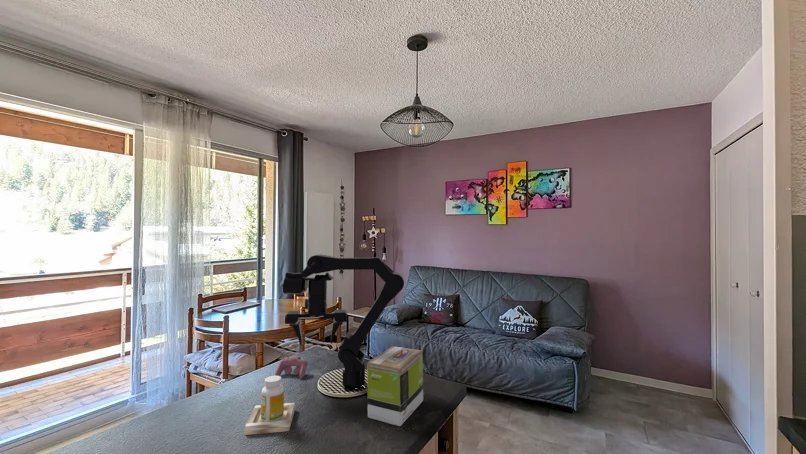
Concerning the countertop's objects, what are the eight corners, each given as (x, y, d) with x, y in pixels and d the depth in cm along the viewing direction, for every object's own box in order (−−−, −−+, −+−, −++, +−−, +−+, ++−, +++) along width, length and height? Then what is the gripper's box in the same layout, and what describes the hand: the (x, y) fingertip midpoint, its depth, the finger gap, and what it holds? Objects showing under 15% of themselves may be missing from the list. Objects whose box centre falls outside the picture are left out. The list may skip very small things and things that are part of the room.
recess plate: (294, 410, 91) (294, 402, 91) (289, 431, 81) (289, 422, 81) (255, 413, 89) (255, 405, 89) (244, 435, 79) (244, 426, 79)
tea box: (393, 394, 100) (393, 344, 101) (424, 401, 96) (424, 349, 97) (365, 418, 87) (366, 360, 87) (400, 428, 83) (401, 367, 83)
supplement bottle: (287, 412, 88) (287, 374, 88) (277, 423, 82) (278, 383, 82) (267, 411, 88) (267, 373, 88) (256, 422, 83) (257, 382, 83)
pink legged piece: (306, 379, 114) (310, 357, 117) (302, 378, 110) (306, 356, 113) (278, 378, 115) (283, 356, 118) (273, 377, 111) (277, 354, 114)
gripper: (346, 289, 116) (345, 335, 116) (290, 290, 113) (289, 337, 112) (347, 295, 105) (346, 345, 105) (285, 296, 102) (283, 348, 101)
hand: (316, 343), depth 106 cm, fingers open, 9 cm apart
